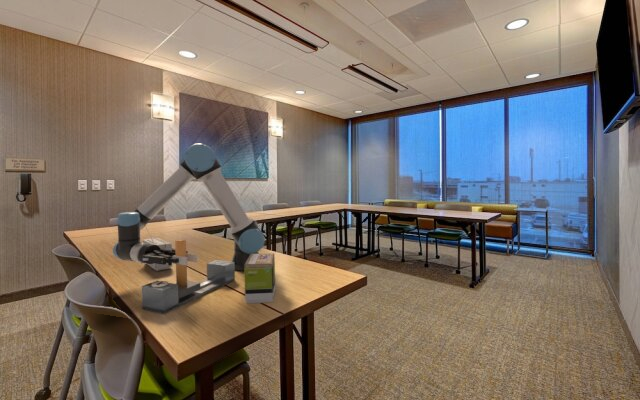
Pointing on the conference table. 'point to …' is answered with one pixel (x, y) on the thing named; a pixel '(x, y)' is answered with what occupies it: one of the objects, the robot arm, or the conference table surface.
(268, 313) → the conference table surface
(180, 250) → the carriage
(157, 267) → the stereo radio cassette player
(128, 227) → the robot arm
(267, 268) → the tea box
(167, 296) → the rail
